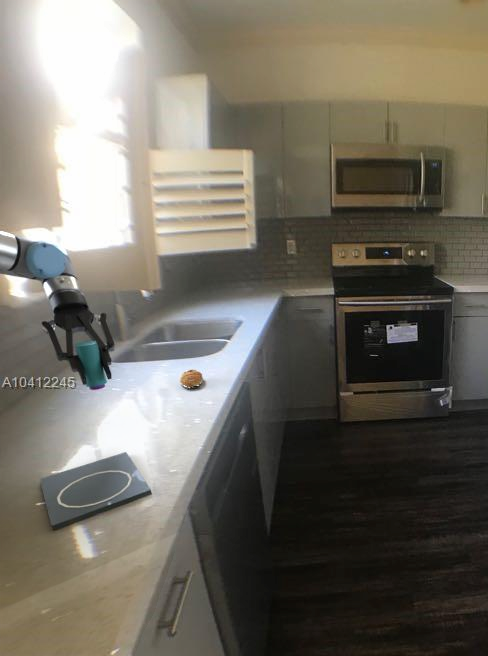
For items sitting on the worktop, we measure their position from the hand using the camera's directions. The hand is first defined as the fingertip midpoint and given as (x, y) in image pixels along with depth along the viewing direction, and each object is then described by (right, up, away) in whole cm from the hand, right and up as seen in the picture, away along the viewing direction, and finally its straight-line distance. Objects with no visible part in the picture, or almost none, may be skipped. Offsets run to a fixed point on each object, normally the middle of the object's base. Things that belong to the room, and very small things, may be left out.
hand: (97, 378), depth 106 cm
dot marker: (-2, -2, +4) cm, 5 cm away
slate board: (+9, -22, -15) cm, 28 cm away
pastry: (+6, -1, +39) cm, 39 cm away
